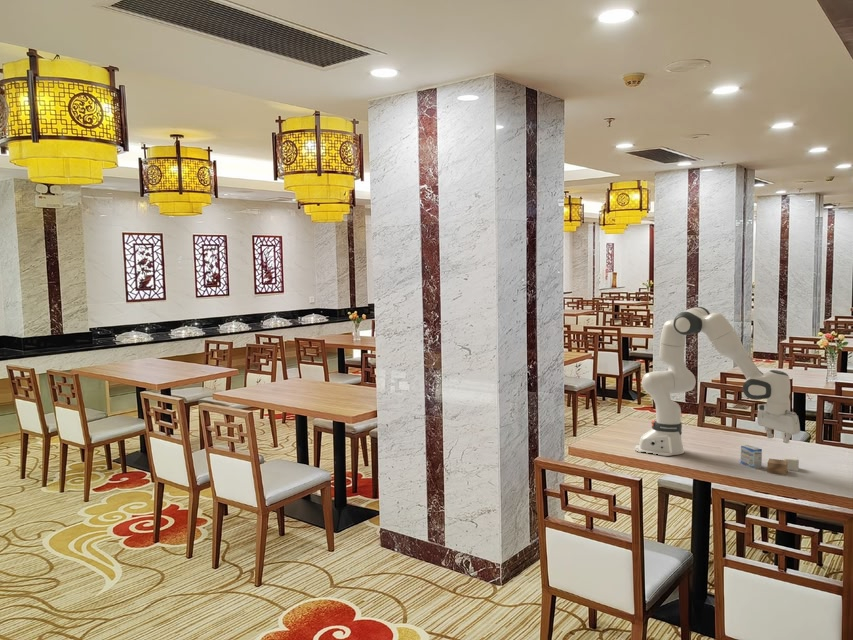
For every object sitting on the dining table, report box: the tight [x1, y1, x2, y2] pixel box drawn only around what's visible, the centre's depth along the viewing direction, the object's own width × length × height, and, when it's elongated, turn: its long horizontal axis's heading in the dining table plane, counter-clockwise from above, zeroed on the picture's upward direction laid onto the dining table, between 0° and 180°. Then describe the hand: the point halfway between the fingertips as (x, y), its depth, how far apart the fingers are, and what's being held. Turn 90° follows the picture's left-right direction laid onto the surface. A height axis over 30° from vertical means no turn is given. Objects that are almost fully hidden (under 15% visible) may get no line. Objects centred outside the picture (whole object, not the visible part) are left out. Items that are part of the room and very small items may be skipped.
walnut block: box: [766, 458, 788, 476], centre depth 286 cm, size 7×7×5 cm
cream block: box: [783, 455, 800, 472], centre depth 291 cm, size 5×5×5 cm
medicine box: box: [740, 444, 763, 469], centre depth 296 cm, size 8×4×9 cm, turn 19°
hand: (778, 440), depth 285 cm, fingers open, 8 cm apart
